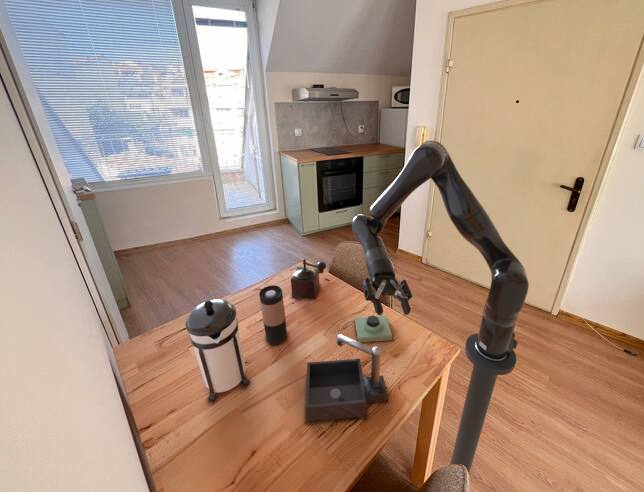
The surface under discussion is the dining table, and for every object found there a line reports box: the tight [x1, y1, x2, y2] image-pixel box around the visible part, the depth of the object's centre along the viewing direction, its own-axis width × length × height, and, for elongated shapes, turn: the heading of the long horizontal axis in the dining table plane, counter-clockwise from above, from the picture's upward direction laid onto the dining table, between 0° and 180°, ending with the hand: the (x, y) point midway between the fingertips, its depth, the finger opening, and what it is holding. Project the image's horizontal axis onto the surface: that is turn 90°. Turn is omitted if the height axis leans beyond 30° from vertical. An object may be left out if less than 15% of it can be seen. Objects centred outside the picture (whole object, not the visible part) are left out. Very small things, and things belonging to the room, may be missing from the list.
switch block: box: [354, 315, 393, 343], centre depth 107 cm, size 12×10×4 cm
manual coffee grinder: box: [290, 258, 327, 300], centre depth 126 cm, size 16×11×18 cm
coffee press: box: [185, 298, 250, 402], centre depth 85 cm, size 17×16×30 cm
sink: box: [305, 358, 388, 423], centre depth 84 cm, size 22×14×6 cm, turn 94°
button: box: [367, 315, 379, 327], centre depth 106 cm, size 4×4×2 cm
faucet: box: [336, 333, 382, 388], centre depth 84 cm, size 14×3×14 cm, turn 59°
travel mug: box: [258, 285, 288, 346], centre depth 102 cm, size 8×8×20 cm
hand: (394, 313), depth 80 cm, fingers open, 8 cm apart
